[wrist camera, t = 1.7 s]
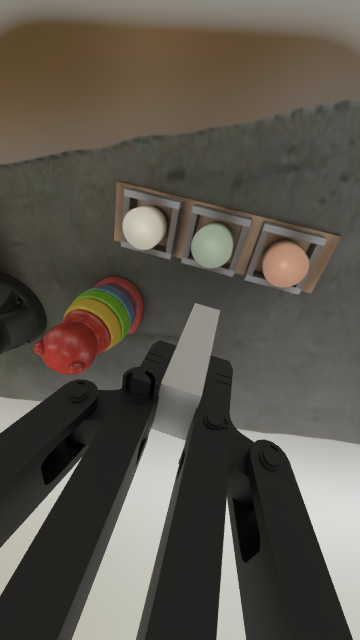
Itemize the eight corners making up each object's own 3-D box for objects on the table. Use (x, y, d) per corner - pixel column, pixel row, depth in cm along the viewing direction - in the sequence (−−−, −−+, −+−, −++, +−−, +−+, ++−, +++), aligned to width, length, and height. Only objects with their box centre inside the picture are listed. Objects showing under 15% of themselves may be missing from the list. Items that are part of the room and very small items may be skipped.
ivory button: (130, 239, 35) (121, 244, 32) (133, 201, 32) (123, 203, 29) (164, 248, 34) (157, 254, 32) (170, 210, 31) (163, 213, 29)
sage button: (191, 255, 34) (187, 262, 31) (200, 217, 31) (196, 221, 29) (227, 265, 33) (225, 272, 31) (238, 227, 31) (238, 232, 28)
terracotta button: (256, 273, 33) (256, 281, 30) (270, 235, 30) (272, 241, 28) (293, 283, 32) (297, 292, 30) (311, 245, 30) (317, 252, 27)
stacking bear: (84, 304, 46) (7, 365, 31) (103, 261, 41) (20, 310, 26) (132, 335, 47) (80, 408, 33) (157, 297, 42) (107, 365, 27)
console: (116, 239, 38) (105, 244, 35) (119, 181, 34) (107, 182, 31) (309, 290, 36) (315, 301, 33) (339, 235, 31) (348, 241, 28)
